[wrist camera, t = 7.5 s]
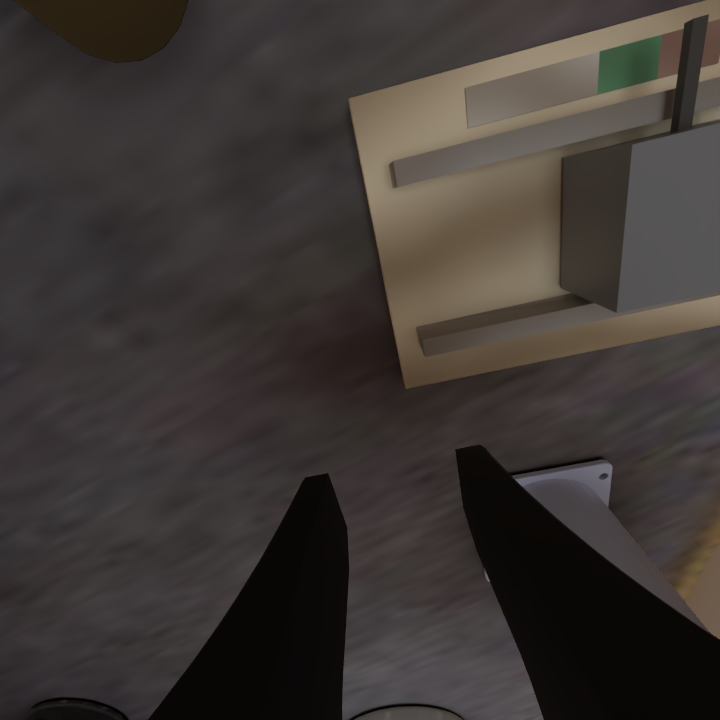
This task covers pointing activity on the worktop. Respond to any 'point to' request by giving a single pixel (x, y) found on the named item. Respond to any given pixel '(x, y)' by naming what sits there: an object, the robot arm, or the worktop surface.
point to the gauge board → (515, 194)
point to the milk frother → (72, 711)
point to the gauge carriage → (647, 207)
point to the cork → (111, 24)
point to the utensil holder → (409, 714)
